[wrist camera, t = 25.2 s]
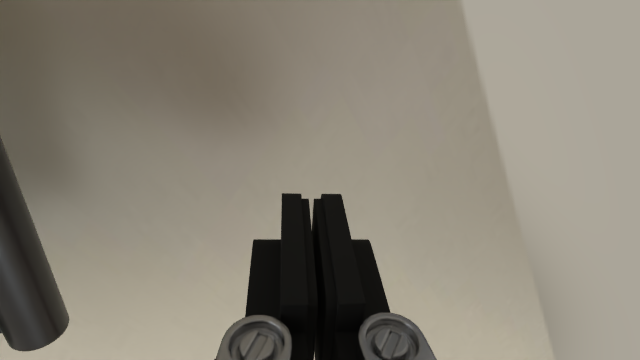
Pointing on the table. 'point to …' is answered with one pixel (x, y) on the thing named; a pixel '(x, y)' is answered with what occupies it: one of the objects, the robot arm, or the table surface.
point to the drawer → (25, 273)
